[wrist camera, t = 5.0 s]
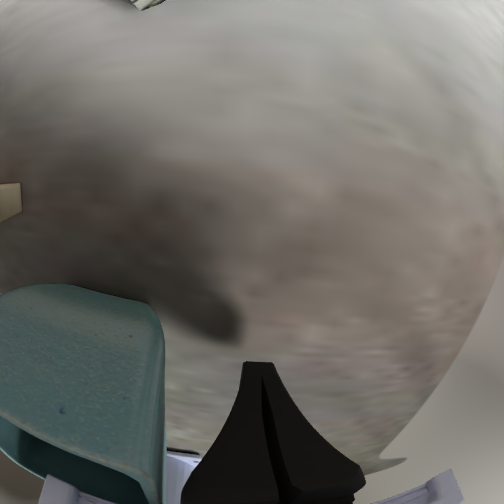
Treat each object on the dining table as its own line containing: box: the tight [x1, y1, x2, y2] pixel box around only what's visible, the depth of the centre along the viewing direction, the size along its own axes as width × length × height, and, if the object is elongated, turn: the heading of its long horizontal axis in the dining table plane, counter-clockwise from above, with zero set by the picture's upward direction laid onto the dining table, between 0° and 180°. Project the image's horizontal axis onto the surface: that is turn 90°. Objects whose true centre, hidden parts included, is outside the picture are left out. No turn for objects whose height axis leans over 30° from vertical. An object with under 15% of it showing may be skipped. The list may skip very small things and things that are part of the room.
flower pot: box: [0, 284, 167, 504], centre depth 9 cm, size 9×9×9 cm
